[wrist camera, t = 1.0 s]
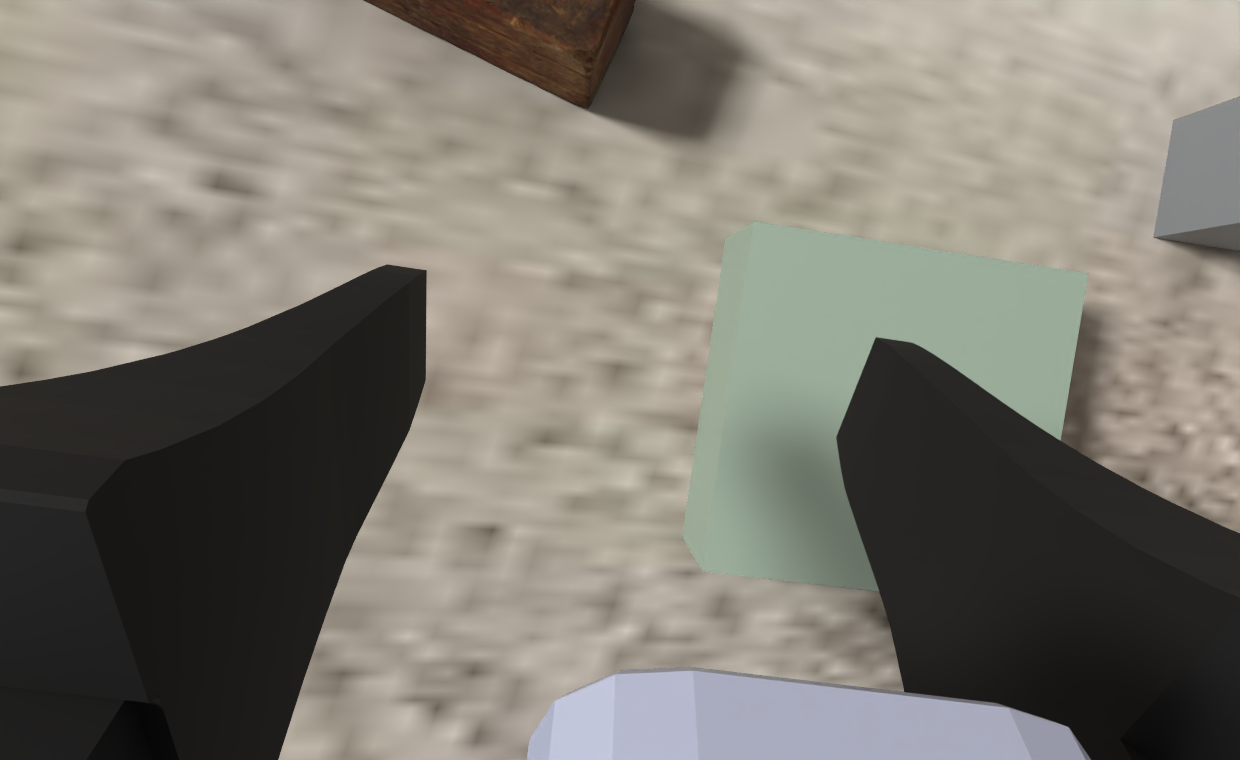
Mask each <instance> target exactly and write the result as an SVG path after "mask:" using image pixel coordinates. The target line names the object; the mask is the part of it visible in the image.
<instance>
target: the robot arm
mask: <svg viewBox="0 0 1240 760" xmlns="http://www.w3.org/2000/svg"><path fill="white" fill-rule="evenodd" d="M426 272H427V270H420V269H413V268H407V267H400V266H393V265H385V266H382V267H379V268H376V269H374V270H372V271H370V272H367V273H365V274H363V275H361V276H359V277H357V278H355V279H353V280H351V281H349V282H347V283H345V284H343V285H341V286H339V287H336V288H334V289H332V290H330V291H328V292H326V293H324V294H322V295H320V296H318V297H316V298H314V299H312V300H310V301H307V302H305V303H303V304H301V305H299V306H297V307H294V308H292V309H290V310H287V311H285V312H282V313H280V314H278V315H275V316H273V317H271V318H268V319H266V320H264V321H261V322H259V323H256V324H254V325H252V326H249V327H247V328H244V329H242V330H239V331H236V332H234V333H231V334H228V335H225V336H222V337H219V338H217V339H214V340H210V341H207V342H204V343H201V344H198V345H194V346H191V347H188V348H185V349H182V350H178V351H175V352H171V353H168V354H164V355H160V356H155V357H151V358H147V359H143V360H138V361H134V362H130V363H126V364H122V365H117V366H113V367H109V368H105V369H100V370H96V371H91V372H86V373H81V374H75V375H70V376H64V377H59V378H53V379H48V380H41V381H35V382H28V383H21V384H15V385H8V386H1V387H0V760H278V759H279V755H280V752H281V749H282V746H283V743H284V739H285V736H286V733H287V730H288V727H289V724H290V721H291V718H292V714H293V711H294V708H295V705H296V702H297V699H298V696H299V693H300V690H301V686H302V683H303V680H304V677H305V674H306V671H307V668H308V665H309V663H310V660H311V657H312V654H313V651H314V648H315V645H316V642H317V639H318V636H319V633H320V630H321V628H322V625H323V622H324V619H325V616H326V613H327V610H328V608H329V605H330V602H331V599H332V597H333V594H334V591H335V588H336V586H337V583H338V580H339V577H340V575H341V572H342V569H343V566H344V564H345V561H346V559H347V557H348V554H349V552H350V550H351V548H352V545H353V543H354V541H355V539H356V536H357V534H358V532H359V530H360V528H361V526H362V524H363V522H364V520H365V518H366V516H367V514H368V512H369V510H370V508H371V506H372V504H373V502H374V500H375V498H376V496H377V495H378V493H379V491H380V489H381V487H382V485H383V483H384V481H385V479H386V477H387V475H388V473H389V471H390V469H391V467H392V465H393V463H394V461H395V459H396V457H397V454H398V452H399V450H400V448H401V446H402V444H403V442H404V440H405V438H406V436H407V434H408V432H409V430H410V427H411V424H412V421H413V418H414V415H415V412H416V409H417V406H418V403H419V400H420V396H421V393H422V390H423V387H424V384H425V380H426ZM836 440H837V447H838V453H839V460H840V467H841V472H842V477H843V482H844V488H845V491H846V494H847V498H848V501H849V504H850V507H851V510H852V513H853V516H854V519H855V522H856V525H857V528H858V531H859V534H860V537H861V540H862V542H863V545H864V548H865V551H866V554H867V557H868V560H869V563H870V566H871V568H872V571H873V574H874V577H875V580H876V583H877V586H878V589H879V592H880V595H881V598H882V600H883V603H884V607H885V610H886V614H887V617H888V621H889V624H890V627H891V631H892V636H893V641H894V645H895V650H896V654H897V659H898V664H899V668H900V673H901V677H902V682H903V687H904V692H898V691H890V690H881V689H873V688H864V687H856V686H847V685H839V684H830V683H822V682H813V681H805V680H796V679H788V678H779V677H771V676H762V675H754V674H746V673H737V672H729V671H720V670H712V669H703V668H695V667H675V668H654V669H633V670H620V671H618V672H615V673H613V674H611V675H609V676H606V677H604V678H602V679H599V680H597V681H595V682H592V683H590V684H588V685H586V686H583V687H581V688H579V689H576V690H574V691H572V692H570V693H567V694H566V695H564V696H562V697H560V698H559V699H557V700H555V702H554V703H553V705H552V706H551V708H550V709H549V711H548V712H547V714H546V715H545V717H544V718H543V720H542V721H541V723H540V724H539V726H538V727H537V729H536V730H535V732H534V733H533V735H532V736H531V738H530V741H529V748H528V755H527V760H1240V533H1237V532H1235V531H1232V530H1230V529H1228V528H1225V527H1223V526H1221V525H1219V524H1217V523H1215V522H1212V521H1210V520H1208V519H1206V518H1204V517H1202V516H1199V515H1197V514H1195V513H1193V512H1191V511H1189V510H1187V509H1184V508H1182V507H1180V506H1178V505H1176V504H1174V503H1171V502H1169V501H1167V500H1165V499H1163V498H1161V497H1159V496H1157V495H1155V494H1153V493H1151V492H1149V491H1148V490H1146V489H1144V488H1142V487H1140V486H1138V485H1136V484H1134V483H1133V482H1131V481H1129V480H1127V479H1125V478H1123V477H1122V476H1120V475H1118V474H1116V473H1114V472H1112V471H1111V470H1109V469H1107V468H1105V467H1103V466H1102V465H1100V464H1098V463H1096V462H1094V461H1093V460H1091V459H1089V458H1088V457H1086V456H1084V455H1083V454H1081V453H1079V452H1078V451H1076V450H1074V449H1073V448H1071V447H1069V446H1068V445H1066V444H1065V443H1063V442H1062V441H1060V440H1059V439H1057V438H1055V437H1054V436H1052V435H1051V434H1049V433H1048V432H1046V431H1044V430H1043V429H1041V428H1040V427H1038V426H1037V425H1035V424H1034V423H1032V422H1031V421H1029V420H1028V419H1026V418H1025V417H1023V416H1022V415H1020V414H1019V413H1017V412H1016V411H1015V410H1013V409H1012V408H1010V407H1009V406H1007V405H1006V404H1004V403H1003V402H1002V401H1000V400H999V399H997V398H996V397H995V396H993V395H992V394H990V393H989V392H987V391H986V390H985V389H983V388H982V387H980V386H979V385H978V384H976V383H975V382H973V381H972V380H971V379H969V378H968V377H966V376H965V375H963V374H962V373H961V372H959V371H958V370H956V369H955V368H954V367H952V366H951V365H949V364H948V363H946V362H945V361H943V360H942V359H940V358H939V357H937V356H936V355H934V354H932V353H931V352H929V351H927V350H926V349H924V348H922V347H920V346H918V345H916V344H914V343H912V342H905V341H898V340H892V339H885V338H878V337H876V338H875V340H874V343H873V345H872V348H871V350H870V353H869V355H868V358H867V361H866V363H865V366H864V368H863V371H862V373H861V376H860V378H859V381H858V383H857V386H856V388H855V391H854V393H853V396H852V398H851V401H850V403H849V406H848V409H847V411H846V414H845V416H844V419H843V421H842V424H841V426H840V429H839V431H838V434H837V436H836Z"/></svg>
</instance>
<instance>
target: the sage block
mask: <svg viewBox="0 0 1240 760" xmlns="http://www.w3.org/2000/svg"><path fill="white" fill-rule="evenodd" d="M1088 274H1089V273H1083V272H1076V271H1070V270H1063V269H1057V268H1050V267H1044V266H1038V265H1031V264H1025V263H1018V262H1012V261H1005V260H999V259H993V258H986V257H980V256H973V255H967V254H961V253H954V252H948V251H941V250H935V249H928V248H922V247H916V246H909V245H903V244H896V243H890V242H883V241H877V240H871V239H864V238H858V237H851V236H845V235H838V234H832V233H826V232H819V231H813V230H806V229H800V228H793V227H787V226H781V225H774V224H768V223H761V222H755V221H753V222H752V223H750V224H749V225H747V226H745V227H744V228H742V229H740V230H739V231H737V232H736V233H734V234H732V235H731V236H729V237H728V238H726V239H725V245H724V252H723V259H722V266H721V273H720V280H719V287H718V293H717V300H716V307H715V314H714V321H713V328H712V335H711V342H710V349H709V356H708V363H707V370H706V377H705V383H704V390H703V397H702V404H701V411H700V418H699V425H698V432H697V439H696V446H695V453H694V460H693V466H692V473H691V480H690V487H689V494H688V501H687V508H686V515H685V522H684V529H683V536H682V538H683V539H684V541H685V543H686V544H687V546H688V548H689V549H690V551H691V553H692V554H693V556H694V558H695V559H696V561H697V563H698V565H699V566H700V568H701V570H702V571H704V572H712V573H721V574H730V575H738V576H747V577H756V578H765V579H773V580H782V581H791V582H799V583H808V584H817V585H826V586H834V587H843V588H852V589H860V590H869V591H878V592H879V589H878V586H877V583H876V580H875V577H874V574H873V571H872V568H871V566H870V563H869V560H868V557H867V554H866V551H865V548H864V545H863V542H862V540H861V537H860V534H859V531H858V528H857V525H856V522H855V519H854V516H853V513H852V510H851V507H850V504H849V501H848V498H847V494H846V491H845V488H844V482H843V477H842V472H841V467H840V460H839V453H838V447H837V440H836V436H837V434H838V431H839V429H840V426H841V424H842V421H843V419H844V416H845V414H846V411H847V409H848V406H849V403H850V401H851V398H852V396H853V393H854V391H855V388H856V386H857V383H858V381H859V378H860V376H861V373H862V371H863V368H864V366H865V363H866V361H867V358H868V355H869V353H870V350H871V348H872V345H873V343H874V340H875V338H876V337H878V338H885V339H892V340H898V341H905V342H912V343H914V344H916V345H918V346H920V347H922V348H924V349H926V350H927V351H929V352H931V353H932V354H934V355H936V356H937V357H939V358H940V359H942V360H943V361H945V362H946V363H948V364H949V365H951V366H952V367H954V368H955V369H956V370H958V371H959V372H961V373H962V374H963V375H965V376H966V377H968V378H969V379H971V380H972V381H973V382H975V383H976V384H978V385H979V386H980V387H982V388H983V389H985V390H986V391H987V392H989V393H990V394H992V395H993V396H995V397H996V398H997V399H999V400H1000V401H1002V402H1003V403H1004V404H1006V405H1007V406H1009V407H1010V408H1012V409H1013V410H1015V411H1016V412H1017V413H1019V414H1020V415H1022V416H1023V417H1025V418H1026V419H1028V420H1029V421H1031V422H1032V423H1034V424H1035V425H1037V426H1038V427H1040V428H1041V429H1043V430H1044V431H1046V432H1048V433H1049V434H1051V435H1052V436H1054V437H1055V438H1057V439H1059V440H1060V441H1061V435H1062V429H1063V423H1064V417H1065V411H1066V405H1067V399H1068V393H1069V387H1070V381H1071V375H1072V369H1073V363H1074V357H1075V351H1076V345H1077V339H1078V333H1079V327H1080V321H1081V315H1082V309H1083V303H1084V297H1085V291H1086V286H1087V280H1088Z"/></svg>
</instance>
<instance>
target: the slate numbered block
mask: <svg viewBox="0 0 1240 760" xmlns="http://www.w3.org/2000/svg"><path fill="white" fill-rule="evenodd" d="M1154 238H1161V239H1167V240H1173V241H1179V242H1185V243H1192V244H1198V245H1204V246H1210V247H1216V248H1223V249H1229V250H1235V251H1240V97H1237V98H1234V99H1232V100H1229V101H1226V102H1223V103H1220V104H1218V105H1215V106H1212V107H1209V108H1206V109H1204V110H1201V111H1198V112H1195V113H1192V114H1190V115H1187V116H1184V117H1181V118H1178V119H1176V120H1173V126H1172V132H1171V138H1170V143H1169V149H1168V155H1167V161H1166V167H1165V173H1164V178H1163V184H1162V190H1161V196H1160V202H1159V208H1158V214H1157V219H1156V225H1155V231H1154Z"/></svg>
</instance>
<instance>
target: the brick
mask: <svg viewBox="0 0 1240 760" xmlns="http://www.w3.org/2000/svg"><path fill="white" fill-rule="evenodd" d="M366 1H368V2H370V3H372V4H374V5H376V6H378V7H380V8H382V9H384V10H386V11H388V12H390V13H392V14H393V15H395V16H397V17H399V18H401V19H403V20H405V21H407V22H409V23H411V24H413V25H415V26H417V27H419V28H421V29H423V30H425V31H427V32H429V33H431V34H434V35H437V36H439V37H441V38H443V39H445V40H446V41H448V42H450V43H452V44H454V45H456V46H458V47H460V48H462V49H465V50H467V51H469V52H471V53H473V54H475V55H477V56H479V57H480V58H482V59H484V60H486V61H488V62H490V63H492V64H494V65H496V66H498V67H500V68H502V69H504V70H505V71H507V72H509V73H512V74H514V75H516V76H518V77H520V78H522V79H524V80H527V81H529V82H531V83H533V84H535V85H537V86H538V87H540V88H541V89H544V90H547V91H549V92H552V93H554V94H556V95H558V96H560V97H561V98H563V99H565V100H567V101H569V102H571V103H573V104H576V105H578V106H581V107H585V108H589V107H590V105H591V103H592V101H593V98H594V96H595V94H596V92H597V90H598V88H599V86H600V84H601V82H602V80H603V78H604V75H605V73H606V71H607V69H608V66H609V64H610V62H611V60H612V58H613V56H614V54H615V52H616V49H617V47H618V45H619V43H620V40H621V38H622V36H623V34H624V31H625V29H626V27H627V25H628V22H629V20H630V17H631V15H632V13H633V9H634V3H635V1H636V0H366Z"/></svg>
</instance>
